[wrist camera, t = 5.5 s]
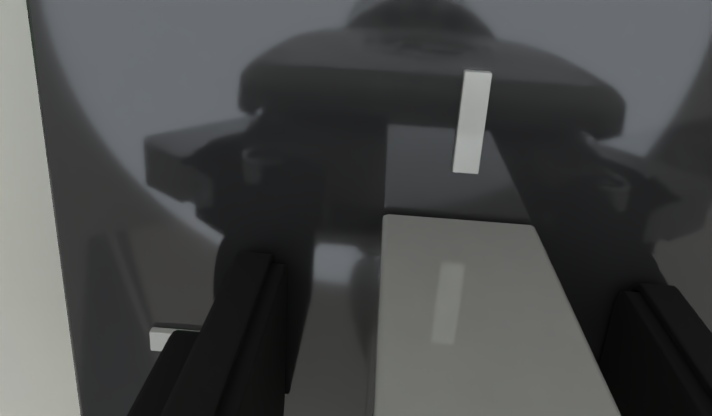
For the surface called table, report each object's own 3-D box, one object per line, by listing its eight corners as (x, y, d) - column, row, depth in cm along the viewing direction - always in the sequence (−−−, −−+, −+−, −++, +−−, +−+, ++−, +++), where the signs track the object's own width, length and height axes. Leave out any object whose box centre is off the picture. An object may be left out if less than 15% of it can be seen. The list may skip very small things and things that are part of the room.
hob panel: (1038, -642, 8) (1401, -960, 5) (676, 469, 15) (743, 601, 12) (58, -682, 8) (-121, -1003, 5) (148, 425, 15) (91, 542, 12)
